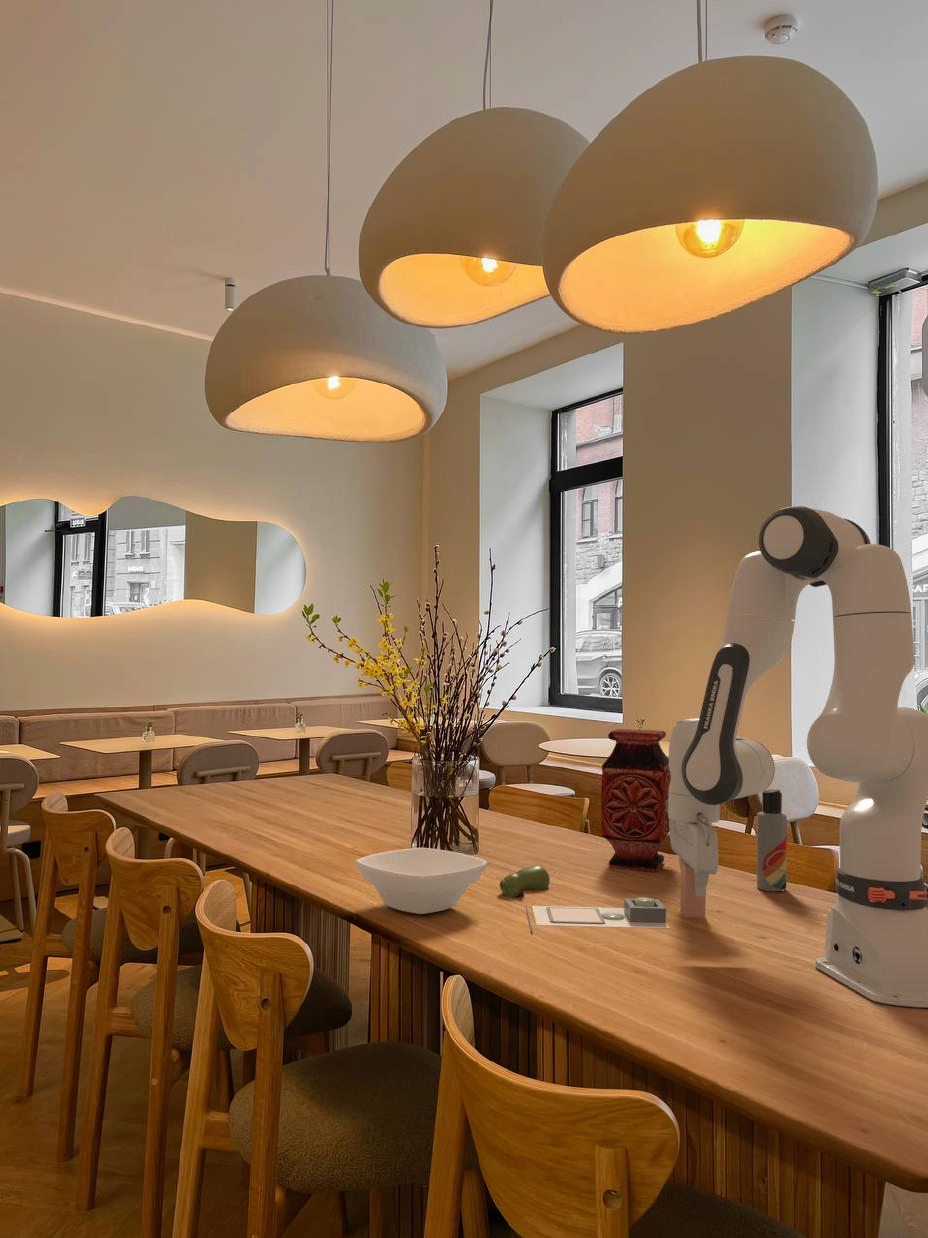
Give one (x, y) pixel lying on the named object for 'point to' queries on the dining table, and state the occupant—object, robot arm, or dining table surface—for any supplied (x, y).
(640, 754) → the vase
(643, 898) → the button
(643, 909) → the button housing
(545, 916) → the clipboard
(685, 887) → the terracotta rectangular block
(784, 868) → the lotion bottle
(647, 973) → the dining table surface
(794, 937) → the dining table surface
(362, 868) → the bowl
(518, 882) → the pear
